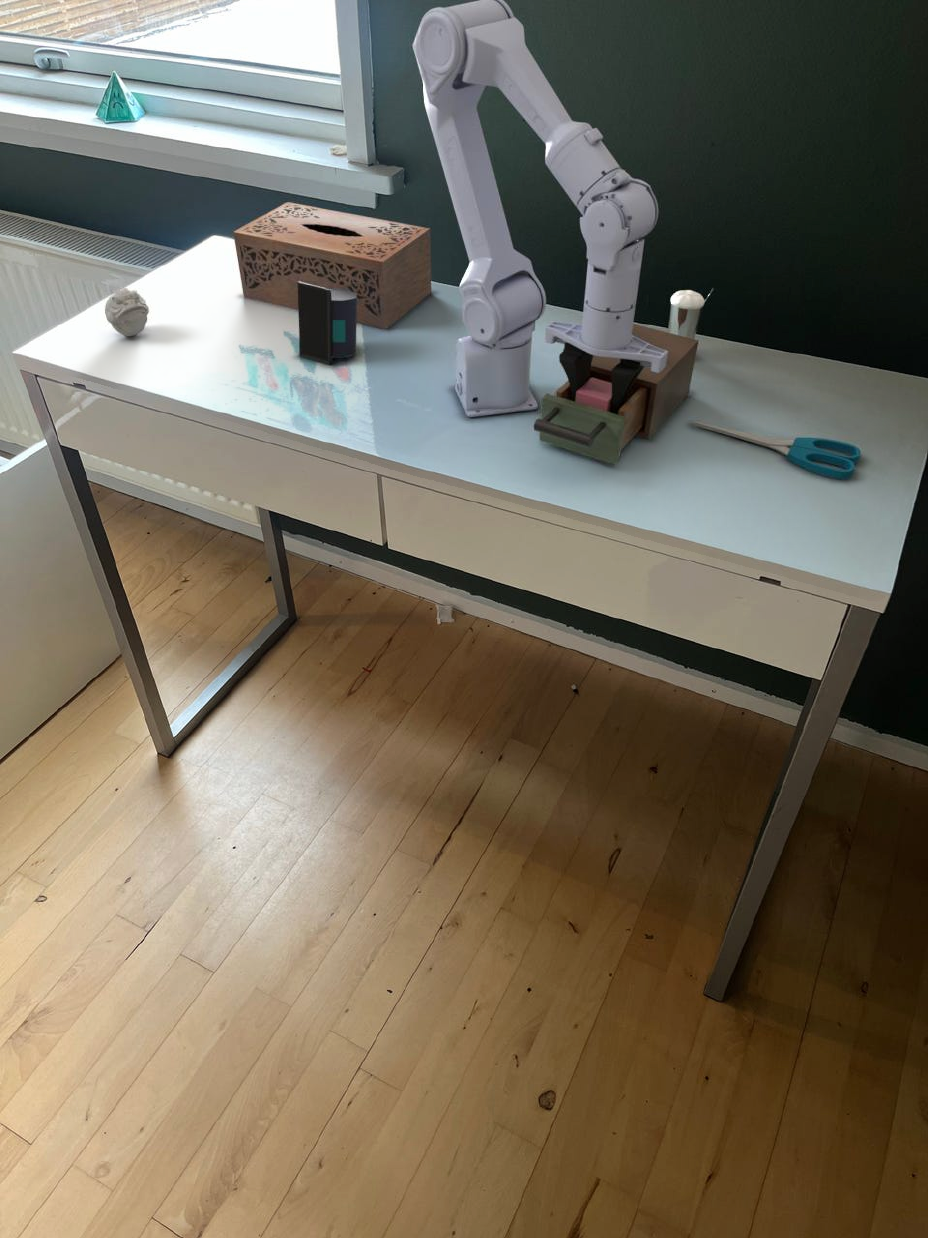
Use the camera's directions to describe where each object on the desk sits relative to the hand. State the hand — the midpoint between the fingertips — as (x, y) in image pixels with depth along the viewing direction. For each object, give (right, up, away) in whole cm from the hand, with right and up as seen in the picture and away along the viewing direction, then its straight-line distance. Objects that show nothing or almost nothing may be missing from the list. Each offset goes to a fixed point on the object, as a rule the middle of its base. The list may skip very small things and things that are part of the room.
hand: (597, 409), depth 112 cm
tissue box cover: (-36, +26, +34) cm, 56 cm away
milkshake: (+15, +12, +19) cm, 27 cm away
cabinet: (+5, +3, +9) cm, 11 cm away
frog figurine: (-65, +16, +24) cm, 71 cm away
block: (0, -1, +1) cm, 1 cm away
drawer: (-1, -3, +1) cm, 4 cm away
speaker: (-35, +13, +20) cm, 42 cm away
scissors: (+22, -4, +2) cm, 22 cm away
